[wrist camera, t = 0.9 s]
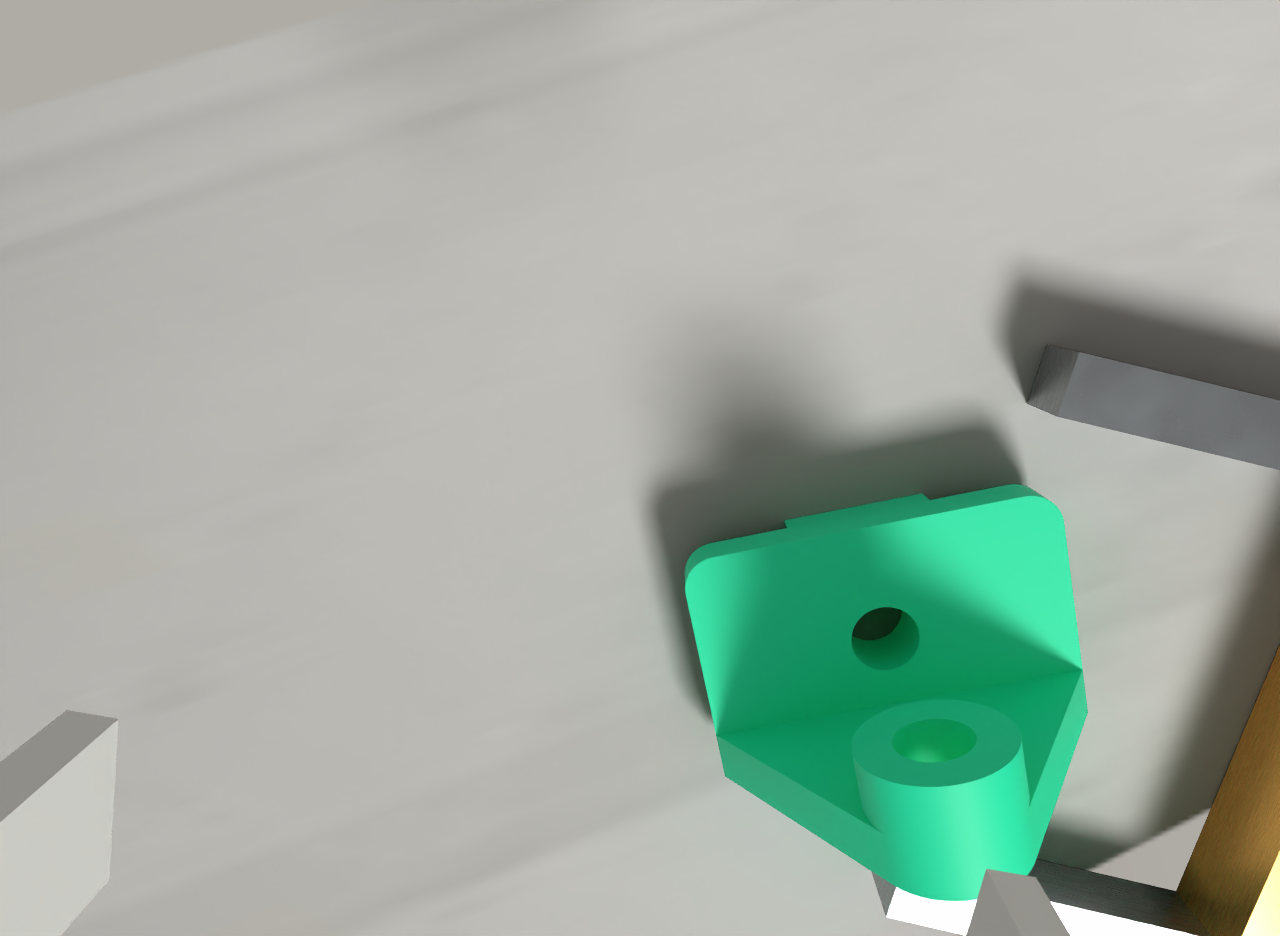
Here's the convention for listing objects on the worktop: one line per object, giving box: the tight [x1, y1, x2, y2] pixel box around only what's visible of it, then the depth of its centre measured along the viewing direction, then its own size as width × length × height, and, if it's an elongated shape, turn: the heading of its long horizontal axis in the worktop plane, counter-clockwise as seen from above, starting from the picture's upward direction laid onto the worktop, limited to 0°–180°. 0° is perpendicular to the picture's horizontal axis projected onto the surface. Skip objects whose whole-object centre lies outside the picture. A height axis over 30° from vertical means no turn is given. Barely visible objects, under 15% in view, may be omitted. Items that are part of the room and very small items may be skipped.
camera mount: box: [685, 484, 1088, 901], centre depth 28 cm, size 12×8×10 cm, turn 102°
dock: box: [872, 344, 1280, 936], centre depth 31 cm, size 13×20×4 cm, turn 167°
